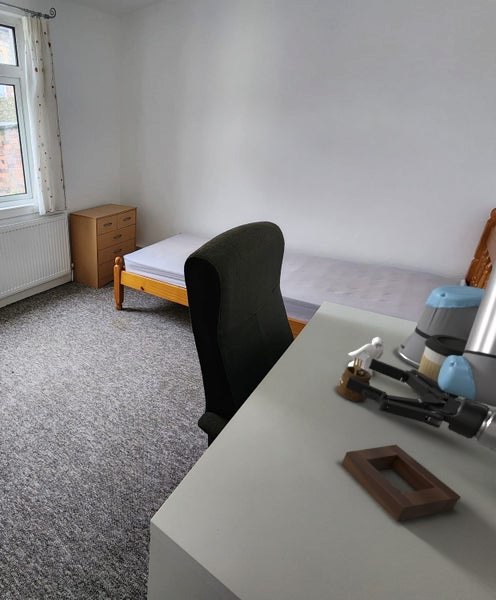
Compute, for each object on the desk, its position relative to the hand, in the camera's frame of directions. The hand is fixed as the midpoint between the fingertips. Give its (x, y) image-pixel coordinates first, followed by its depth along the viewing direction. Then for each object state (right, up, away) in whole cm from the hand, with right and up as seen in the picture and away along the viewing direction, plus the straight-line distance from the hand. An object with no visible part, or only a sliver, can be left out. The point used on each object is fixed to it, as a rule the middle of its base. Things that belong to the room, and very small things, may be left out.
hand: (359, 372), depth 84 cm
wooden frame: (-10, -17, -21) cm, 28 cm away
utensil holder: (0, -7, +3) cm, 7 cm away
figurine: (+10, -2, +13) cm, 17 cm away
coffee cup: (+21, -6, +4) cm, 22 cm away
